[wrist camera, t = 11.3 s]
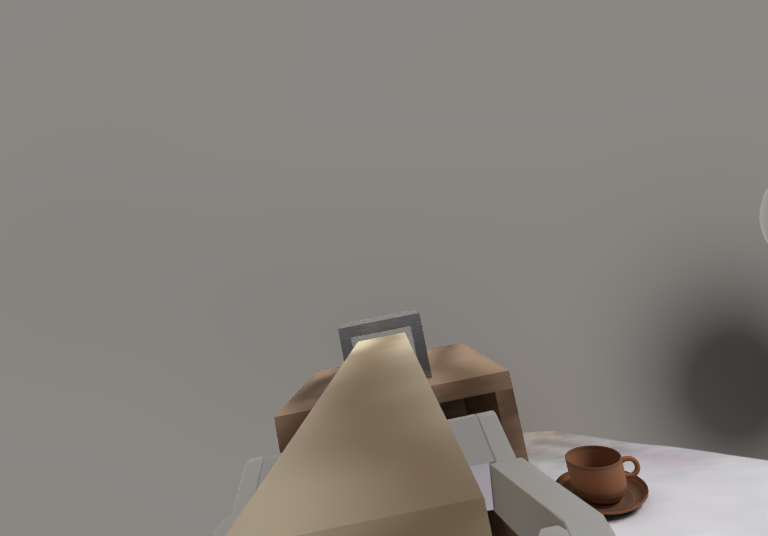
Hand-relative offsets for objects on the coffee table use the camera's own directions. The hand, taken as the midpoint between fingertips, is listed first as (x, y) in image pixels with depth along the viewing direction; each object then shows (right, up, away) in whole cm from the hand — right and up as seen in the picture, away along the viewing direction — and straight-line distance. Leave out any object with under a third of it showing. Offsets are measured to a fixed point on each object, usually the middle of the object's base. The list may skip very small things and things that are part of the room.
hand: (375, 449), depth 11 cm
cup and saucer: (+31, -28, +46) cm, 62 cm away
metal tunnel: (+1, -6, +30) cm, 31 cm away
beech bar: (0, -2, +8) cm, 8 cm away
